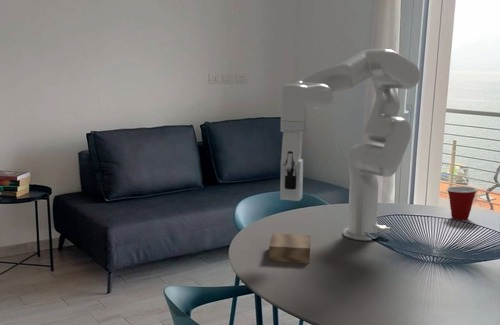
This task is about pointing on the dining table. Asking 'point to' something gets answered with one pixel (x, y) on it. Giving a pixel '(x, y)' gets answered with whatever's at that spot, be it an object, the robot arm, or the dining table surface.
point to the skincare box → (296, 193)
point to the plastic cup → (461, 201)
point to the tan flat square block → (290, 248)
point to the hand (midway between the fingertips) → (291, 186)
